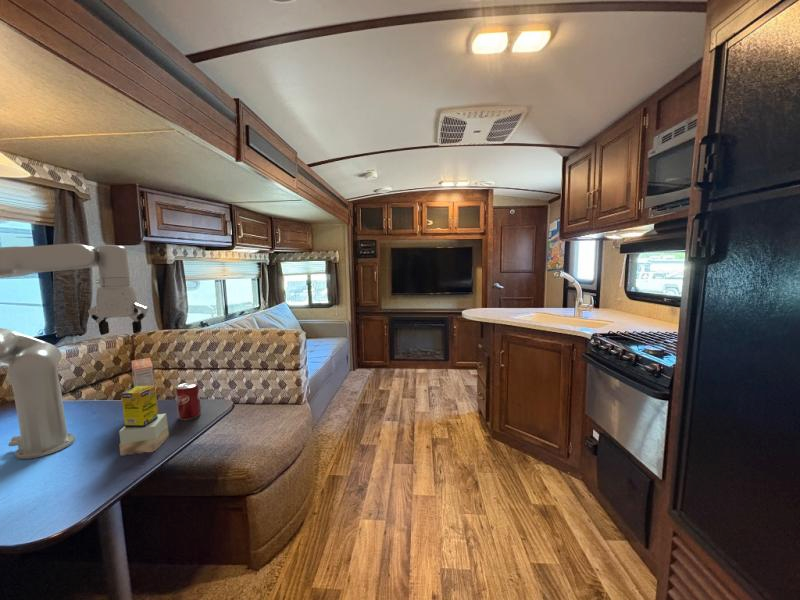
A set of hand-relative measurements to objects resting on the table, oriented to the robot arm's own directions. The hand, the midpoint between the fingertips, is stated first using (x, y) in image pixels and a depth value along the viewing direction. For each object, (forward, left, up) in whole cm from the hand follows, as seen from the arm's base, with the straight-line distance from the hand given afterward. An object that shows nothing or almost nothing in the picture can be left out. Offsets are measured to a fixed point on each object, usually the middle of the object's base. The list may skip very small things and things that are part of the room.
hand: (121, 333), depth 111 cm
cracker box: (+2, +6, -34) cm, 34 cm away
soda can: (+17, +4, -34) cm, 38 cm away
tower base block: (+12, -14, -34) cm, 39 cm away
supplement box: (+12, -15, -26) cm, 32 cm away
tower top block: (+12, -14, -30) cm, 35 cm away
